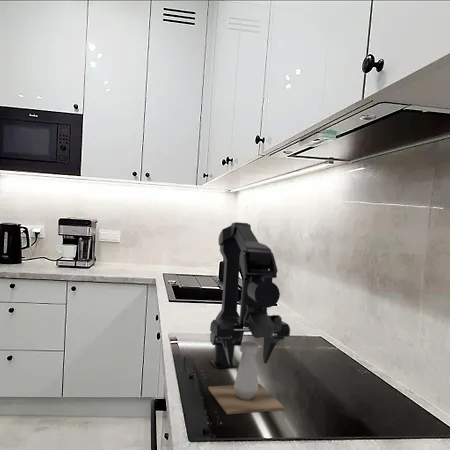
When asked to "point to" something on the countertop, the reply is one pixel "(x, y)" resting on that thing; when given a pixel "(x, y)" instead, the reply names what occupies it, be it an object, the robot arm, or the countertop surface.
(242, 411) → the walnut board
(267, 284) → the robot arm
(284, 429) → the countertop surface
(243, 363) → the salt shaker
